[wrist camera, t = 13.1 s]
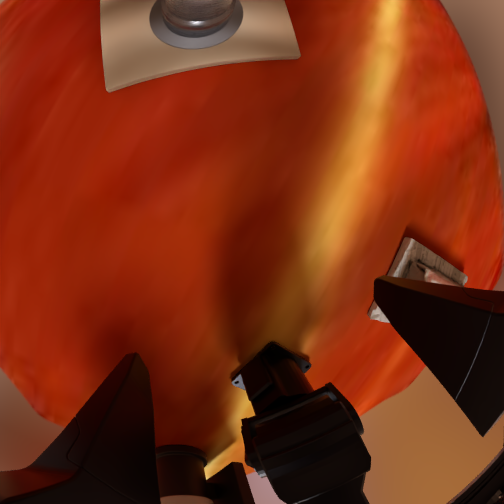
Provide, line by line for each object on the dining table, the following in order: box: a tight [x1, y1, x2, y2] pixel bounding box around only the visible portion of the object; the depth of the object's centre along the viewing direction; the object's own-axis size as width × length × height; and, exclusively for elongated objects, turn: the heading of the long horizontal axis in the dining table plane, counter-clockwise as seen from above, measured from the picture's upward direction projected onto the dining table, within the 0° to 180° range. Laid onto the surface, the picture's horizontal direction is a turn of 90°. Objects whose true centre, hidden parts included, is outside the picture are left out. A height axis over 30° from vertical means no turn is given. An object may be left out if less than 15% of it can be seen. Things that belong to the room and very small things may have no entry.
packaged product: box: [367, 237, 467, 323], centre depth 28 cm, size 18×5×10 cm
